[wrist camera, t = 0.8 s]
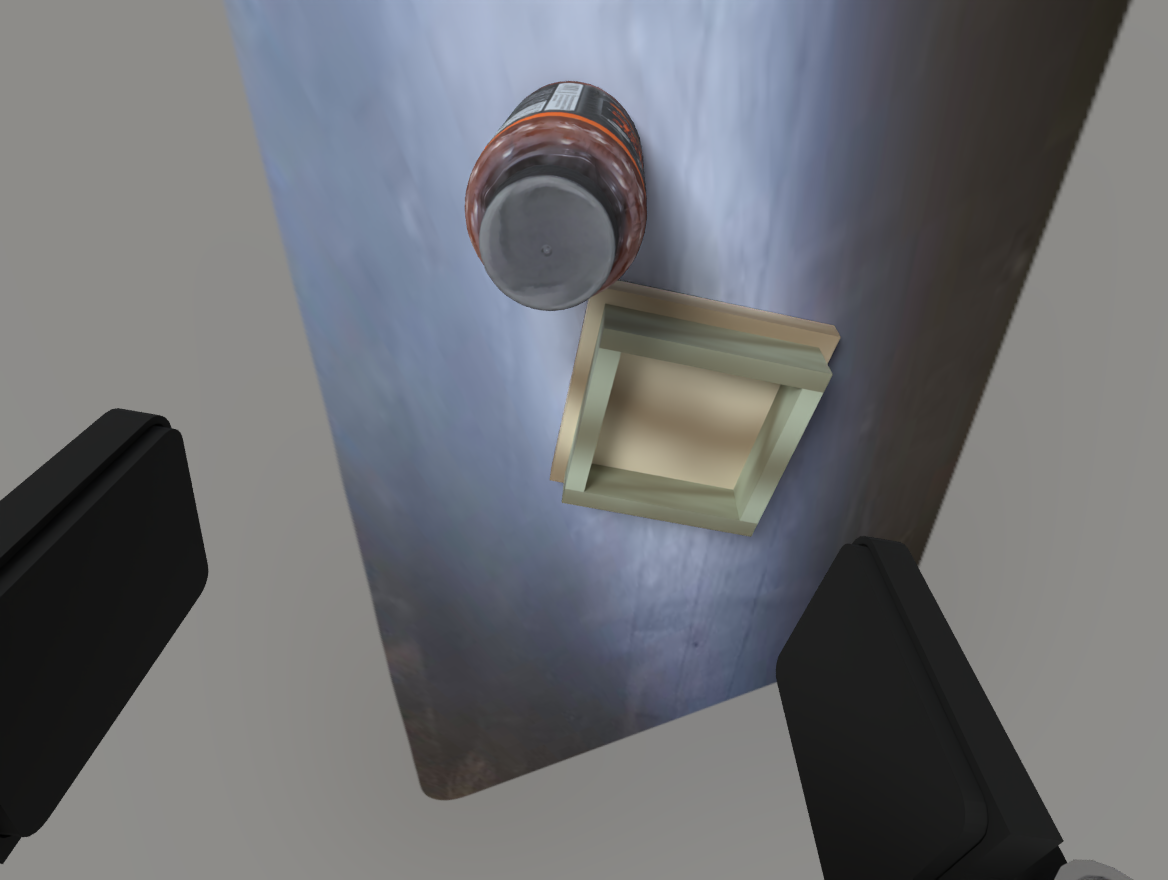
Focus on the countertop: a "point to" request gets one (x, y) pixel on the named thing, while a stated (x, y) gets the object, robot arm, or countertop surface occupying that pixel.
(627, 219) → the supplement bottle
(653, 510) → the socket board
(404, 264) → the countertop surface
